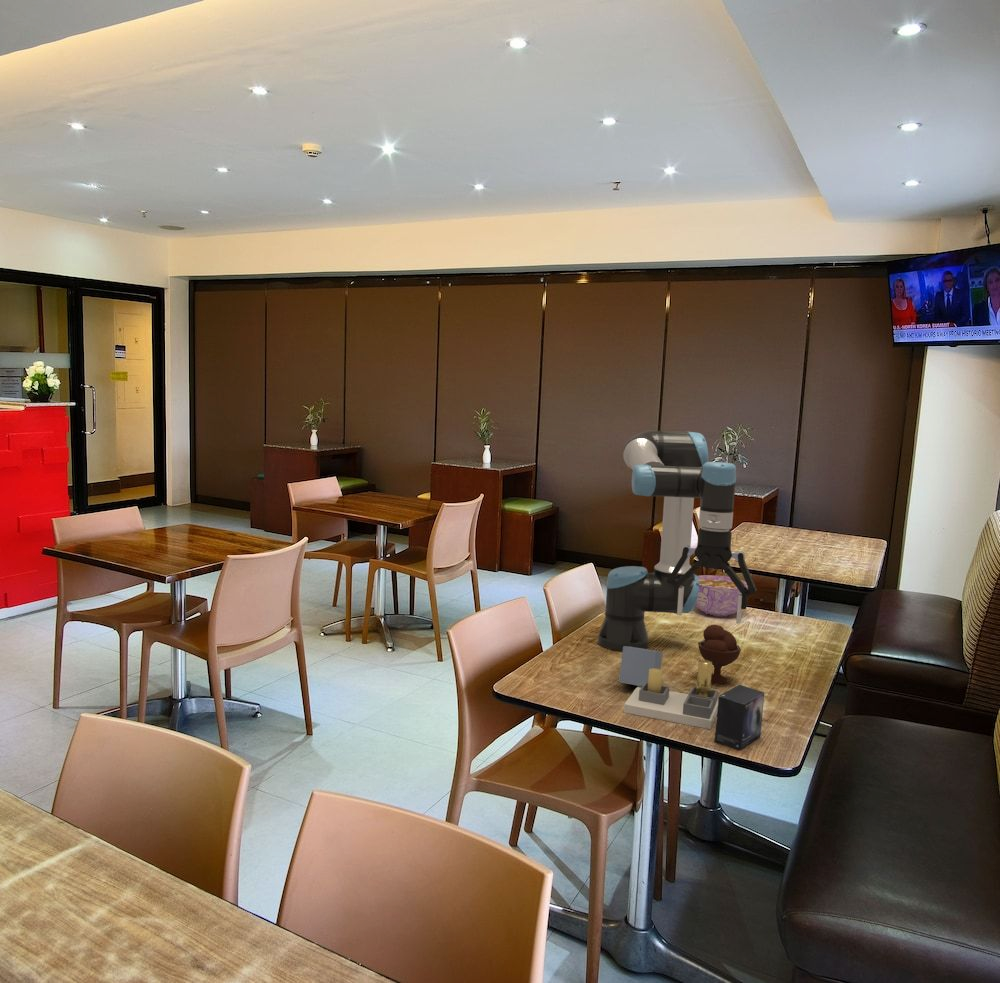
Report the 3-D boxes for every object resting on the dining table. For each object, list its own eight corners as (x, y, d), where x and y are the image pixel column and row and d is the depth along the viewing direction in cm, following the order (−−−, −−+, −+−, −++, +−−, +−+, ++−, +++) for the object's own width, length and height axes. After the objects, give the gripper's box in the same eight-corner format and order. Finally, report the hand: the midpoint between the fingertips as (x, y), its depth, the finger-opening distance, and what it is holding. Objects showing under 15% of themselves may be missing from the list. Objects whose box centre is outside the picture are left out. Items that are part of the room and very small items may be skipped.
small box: (741, 751, 166) (745, 703, 165) (713, 741, 171) (716, 695, 170) (762, 737, 174) (766, 691, 173) (734, 728, 179) (738, 683, 177)
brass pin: (694, 703, 187) (697, 662, 186) (696, 699, 190) (699, 659, 189) (708, 706, 186) (711, 665, 185) (710, 701, 189) (712, 661, 187)
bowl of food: (689, 618, 269) (691, 585, 268) (685, 604, 289) (687, 573, 288) (750, 623, 266) (752, 590, 265) (742, 608, 286) (744, 577, 284)
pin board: (623, 712, 185) (625, 675, 184) (637, 693, 198) (639, 658, 197) (710, 729, 177) (713, 690, 176) (719, 708, 190) (721, 672, 189)
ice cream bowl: (716, 690, 202) (720, 633, 200) (687, 676, 212) (690, 621, 210) (746, 684, 207) (751, 629, 205) (717, 671, 217) (720, 618, 215)
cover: (618, 682, 198) (623, 646, 200) (626, 681, 206) (630, 646, 207) (651, 688, 195) (656, 651, 196) (658, 687, 203) (662, 651, 204)
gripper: (658, 525, 184) (652, 614, 187) (770, 536, 175) (762, 629, 177) (664, 521, 191) (659, 607, 194) (772, 532, 181) (765, 621, 184)
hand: (708, 618), depth 185 cm, fingers open, 13 cm apart
